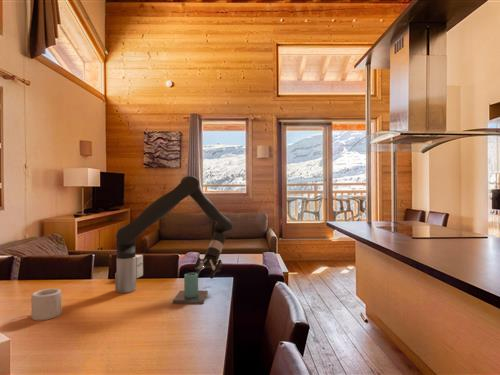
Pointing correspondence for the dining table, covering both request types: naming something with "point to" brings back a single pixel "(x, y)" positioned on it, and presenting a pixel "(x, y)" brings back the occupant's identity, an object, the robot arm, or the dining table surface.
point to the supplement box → (139, 266)
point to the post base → (190, 298)
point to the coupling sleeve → (190, 284)
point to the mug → (46, 304)
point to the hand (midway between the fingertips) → (203, 277)
